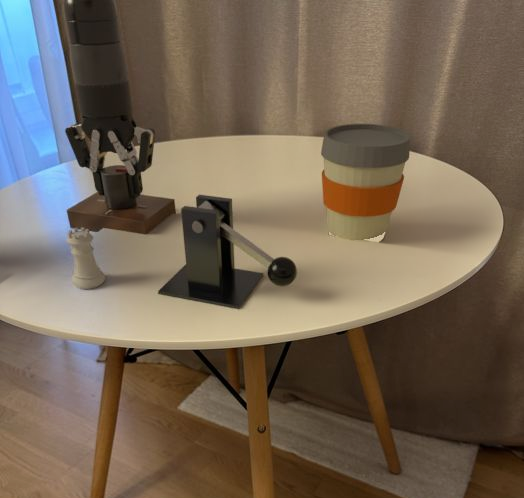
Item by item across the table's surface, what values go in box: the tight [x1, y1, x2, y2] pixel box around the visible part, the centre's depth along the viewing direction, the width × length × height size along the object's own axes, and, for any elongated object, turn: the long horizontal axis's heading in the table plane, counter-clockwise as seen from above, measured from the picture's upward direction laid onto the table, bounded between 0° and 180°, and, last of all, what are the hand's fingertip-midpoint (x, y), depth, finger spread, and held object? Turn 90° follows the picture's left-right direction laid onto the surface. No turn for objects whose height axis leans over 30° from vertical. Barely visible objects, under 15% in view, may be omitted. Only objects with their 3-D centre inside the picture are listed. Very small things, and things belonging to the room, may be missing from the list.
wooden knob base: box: [66, 191, 177, 235], centre depth 89 cm, size 14×10×3 cm
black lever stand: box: [157, 194, 265, 310], centre depth 68 cm, size 11×9×12 cm
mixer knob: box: [100, 164, 137, 209], centre depth 87 cm, size 5×5×6 cm
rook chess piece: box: [65, 227, 106, 290], centre depth 70 cm, size 4×4×8 cm
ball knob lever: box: [198, 201, 298, 288], centre depth 66 cm, size 14×4×4 cm
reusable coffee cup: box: [320, 123, 411, 241], centre depth 82 cm, size 13×13×15 cm
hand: (119, 194), depth 87 cm, fingers closed on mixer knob, 5 cm apart
